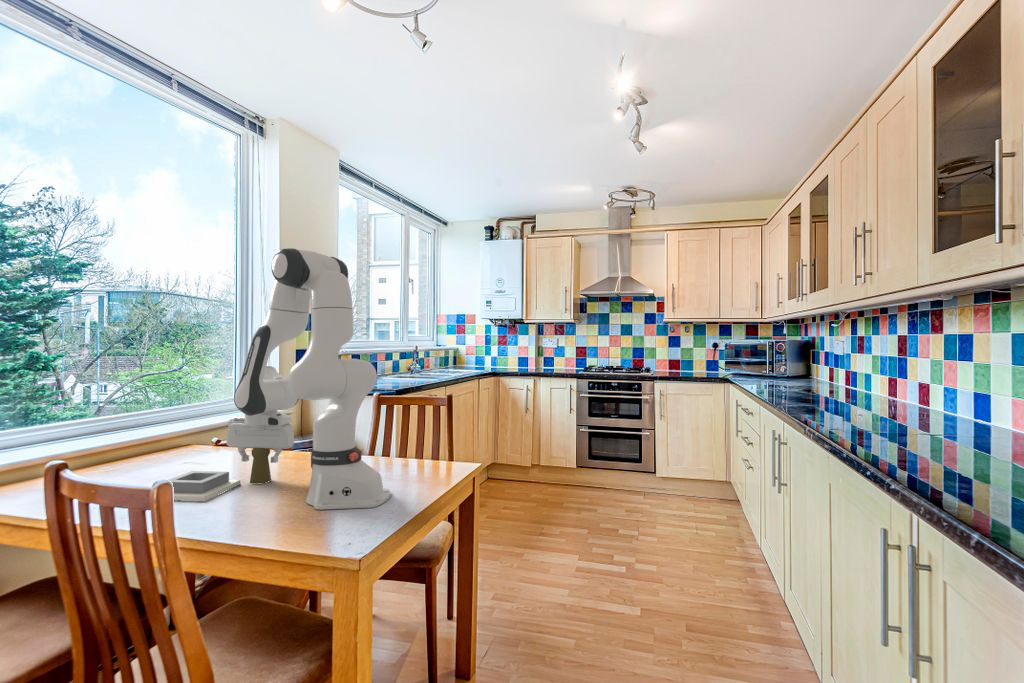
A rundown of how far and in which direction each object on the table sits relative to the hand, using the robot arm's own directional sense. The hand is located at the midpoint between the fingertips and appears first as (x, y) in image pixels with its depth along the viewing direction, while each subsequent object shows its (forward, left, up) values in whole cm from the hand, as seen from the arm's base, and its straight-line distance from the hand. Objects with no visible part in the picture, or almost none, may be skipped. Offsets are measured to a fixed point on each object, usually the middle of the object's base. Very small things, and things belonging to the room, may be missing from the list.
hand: (259, 461), depth 153 cm
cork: (-1, 0, -6) cm, 6 cm away
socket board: (+11, +12, -6) cm, 18 cm away
